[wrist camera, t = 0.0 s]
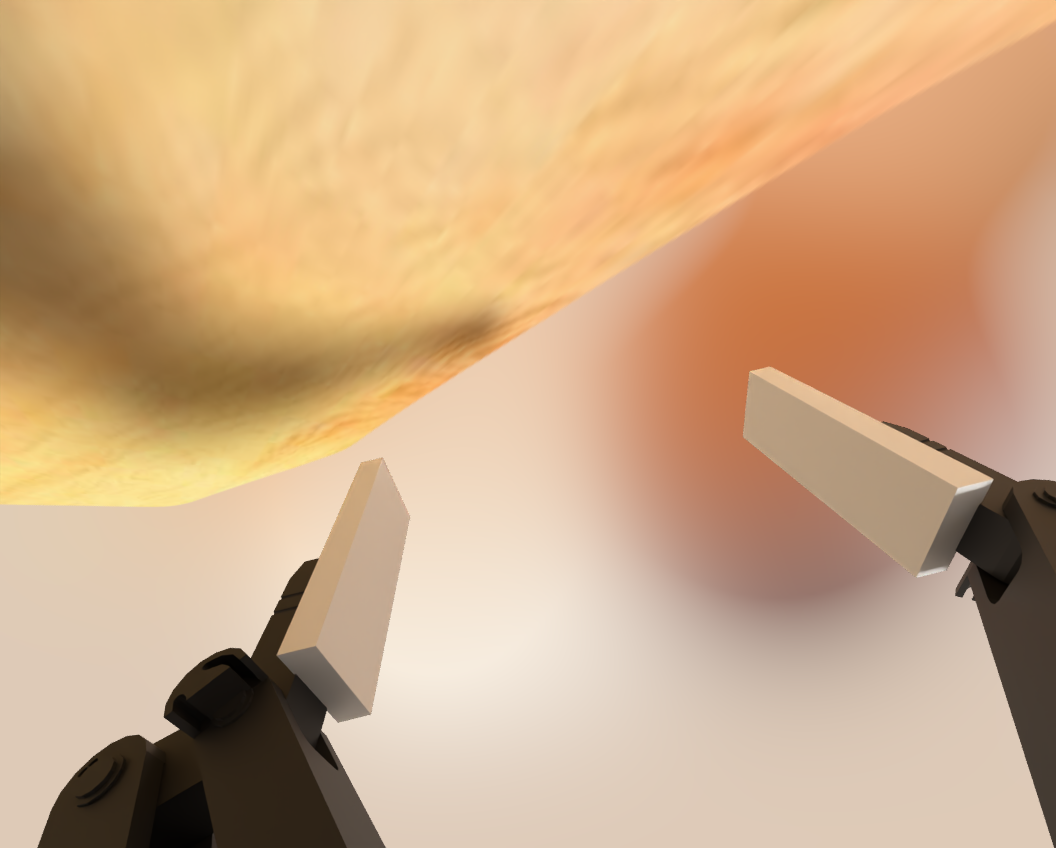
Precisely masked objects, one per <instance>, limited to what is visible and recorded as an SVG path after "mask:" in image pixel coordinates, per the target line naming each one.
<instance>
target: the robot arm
mask: <svg viewBox="0 0 1056 848" xmlns="http://www.w3.org/2000/svg"><path fill="white" fill-rule="evenodd" d="M743 437H744V438H745V439H746V440H747V441H749V442H750V443H751V444H752V445H753V446H755V447H756V448H757V449H758V450H760V451H761V452H762V453H763V454H765V455H766V456H767V457H768V458H769V459H771V460H772V461H773V462H774V463H776V464H777V465H778V466H780V467H781V468H782V469H783V470H784V471H786V472H787V473H788V474H789V475H791V476H792V477H793V478H794V479H795V480H797V481H798V482H799V483H800V484H801V485H803V486H804V487H805V488H806V489H808V490H809V491H810V492H811V493H813V494H814V495H815V496H816V497H818V498H819V499H820V500H821V501H822V502H824V503H825V504H826V505H827V506H829V507H830V508H831V509H832V510H833V511H835V512H836V513H837V514H838V515H840V516H841V517H842V518H843V519H845V520H846V521H847V522H848V523H849V524H851V525H852V526H853V527H854V528H856V529H857V530H858V531H859V532H861V533H862V534H863V535H864V536H865V537H867V538H868V539H869V540H870V541H872V542H873V543H874V544H875V545H877V546H878V547H879V548H880V549H882V550H883V551H884V552H885V553H886V554H888V555H889V556H890V557H891V558H893V559H894V560H895V561H896V562H898V563H899V564H900V565H901V566H902V567H904V568H905V569H906V570H907V571H909V572H910V573H911V574H912V575H914V576H915V577H916V578H917V577H921V576H925V575H929V574H933V573H937V572H940V571H945V570H947V568H948V567H949V565H950V563H951V561H952V559H953V557H954V555H955V553H956V551H957V552H958V553H960V554H961V555H963V556H964V557H965V558H967V559H968V560H970V561H971V562H970V564H969V566H968V568H967V570H966V572H965V574H964V575H963V577H962V579H961V580H960V582H959V584H958V586H957V588H956V593H955V596H958V597H963V595H964V593H965V592H966V590H967V589H968V588H969V587H971V588H972V591H973V594H974V596H973V598H972V600H974V601H976V603H977V607H978V610H979V613H980V616H981V619H982V623H983V626H984V629H985V632H986V635H987V638H988V641H989V645H990V648H991V651H992V654H993V657H994V660H995V663H996V666H997V669H998V673H999V676H1000V679H1001V682H1002V685H1003V688H1004V691H1005V695H1006V698H1007V701H1008V704H1009V707H1010V710H1011V713H1012V717H1013V720H1014V723H1015V726H1016V729H1017V732H1018V735H1019V739H1020V742H1021V745H1022V748H1023V751H1024V754H1025V758H1026V761H1027V764H1028V767H1029V770H1030V773H1031V776H1032V779H1033V782H1034V786H1035V789H1036V792H1037V795H1038V798H1039V801H1040V805H1041V808H1042V811H1043V814H1044V817H1045V820H1046V823H1047V826H1048V830H1049V833H1050V836H1051V839H1052V842H1053V845H1054V848H1056V482H1055V481H1050V480H1035V479H1032V480H1025V481H1019V482H1017V481H1015V480H1013V479H1011V478H1009V477H1006V476H1005V475H1003V474H1000V473H999V472H996V471H994V470H992V469H990V468H988V467H986V466H984V465H982V464H980V463H978V462H976V461H973V460H972V459H969V458H967V457H966V456H964V455H962V454H960V453H957V452H955V451H953V450H951V449H950V450H947V448H946V447H945V446H943V445H941V444H939V443H937V442H935V441H930V440H929V438H927V437H925V436H923V435H920V434H918V433H916V432H914V431H912V430H910V429H908V428H905V427H901V426H898V425H894V424H891V423H887V422H879V421H877V420H875V419H873V418H871V417H870V416H867V415H866V414H864V413H862V412H860V411H858V410H856V409H854V408H852V407H850V406H847V405H845V404H844V403H842V402H840V401H838V400H836V399H834V398H832V397H830V396H828V395H826V394H824V393H822V392H820V391H817V390H816V389H814V388H812V387H810V386H808V385H806V384H804V383H802V382H800V381H798V380H796V379H794V378H792V377H790V376H788V375H786V374H784V373H782V372H780V371H778V370H776V369H774V368H772V367H767V368H762V369H758V370H753V371H750V372H749V381H748V391H747V401H746V411H745V421H744V430H743ZM409 519H410V515H409V513H408V511H407V509H406V507H405V504H404V502H403V500H402V498H401V496H400V494H399V491H398V489H397V487H396V485H395V483H394V481H393V479H392V476H391V474H390V472H389V470H388V468H387V465H386V463H385V461H384V459H383V458H379V459H375V460H371V461H366V462H362V463H361V464H360V466H359V469H358V471H357V473H356V475H355V478H354V480H353V482H352V484H351V487H350V489H349V491H348V494H347V496H346V498H345V500H344V503H343V505H342V507H341V509H340V512H339V514H338V516H337V519H336V521H335V523H334V525H333V528H332V530H331V532H330V535H329V537H328V539H327V541H326V544H325V546H324V548H323V551H322V553H321V555H320V557H319V558H318V559H314V560H310V561H306V562H304V563H303V564H302V566H301V567H300V568H299V569H298V570H297V571H296V572H295V574H294V575H293V576H292V577H291V578H290V580H289V582H288V584H287V586H286V588H285V590H284V592H283V594H282V596H281V598H282V599H281V600H279V602H278V604H277V606H276V608H275V610H274V615H272V616H271V618H270V620H269V622H268V624H267V626H266V628H265V630H264V632H263V634H262V636H261V638H260V640H259V643H258V645H257V647H256V649H255V651H254V653H253V655H252V657H251V658H250V657H249V656H248V655H247V654H246V653H245V652H244V651H243V650H242V649H240V648H228V649H226V650H223V651H220V652H217V653H215V654H213V655H211V656H210V657H208V658H207V659H205V660H203V661H202V662H200V663H199V664H198V665H197V666H196V667H194V668H193V669H192V670H191V671H190V672H189V673H187V674H186V675H185V677H184V678H183V679H182V680H181V681H180V683H179V684H178V685H177V686H176V688H175V689H174V690H173V692H172V694H171V695H170V697H169V699H168V701H167V703H166V706H165V712H164V718H165V719H167V720H168V721H169V722H171V723H172V724H173V725H175V726H176V727H178V728H179V729H180V730H178V731H176V732H174V733H172V734H171V735H169V736H167V737H165V738H163V739H161V740H159V741H158V742H156V743H154V744H152V743H151V742H149V741H148V740H146V739H145V738H143V737H142V736H140V735H132V736H126V737H124V738H122V739H120V740H118V741H116V742H113V743H112V744H110V745H108V746H107V747H106V748H104V749H103V750H101V751H100V752H99V753H97V754H96V755H95V756H93V757H92V758H91V759H90V760H89V761H88V762H87V763H86V764H85V765H84V766H83V767H82V768H81V769H80V770H79V771H78V772H77V773H76V774H75V775H74V776H73V777H72V779H71V780H70V781H69V782H68V784H67V785H66V786H65V787H64V789H63V790H62V791H61V793H60V795H59V797H58V798H57V800H56V802H55V804H54V806H53V808H52V810H51V812H50V815H49V818H48V820H47V823H46V826H45V829H44V831H43V834H42V837H41V840H40V842H39V845H38V848H385V846H384V844H383V842H382V840H381V838H380V836H379V834H378V832H377V830H376V829H375V827H374V825H373V823H372V821H371V819H370V817H369V815H368V814H367V812H366V810H365V808H364V806H363V804H362V802H361V800H360V798H359V797H358V794H357V793H356V791H355V789H354V787H353V785H352V783H351V781H350V779H349V777H348V776H347V774H346V772H345V770H344V768H343V766H342V764H341V762H340V760H339V758H338V757H337V755H336V753H335V751H334V749H333V747H332V745H331V743H330V742H329V740H328V738H327V736H326V735H325V734H324V733H323V732H322V731H321V729H322V725H323V722H324V718H325V714H326V711H328V712H329V713H330V714H331V715H332V717H333V718H334V719H335V720H336V721H337V722H342V721H346V720H350V719H354V718H358V717H362V716H366V715H370V714H371V712H372V706H373V701H374V696H375V691H376V686H377V681H378V676H379V671H380V666H381V661H382V656H383V651H384V645H385V641H386V635H387V631H388V625H389V620H390V615H391V610H392V605H393V600H394V595H395V590H396V585H397V580H398V574H399V570H400V565H401V560H402V555H403V550H404V544H405V539H406V534H407V529H408V524H409Z"/></svg>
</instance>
